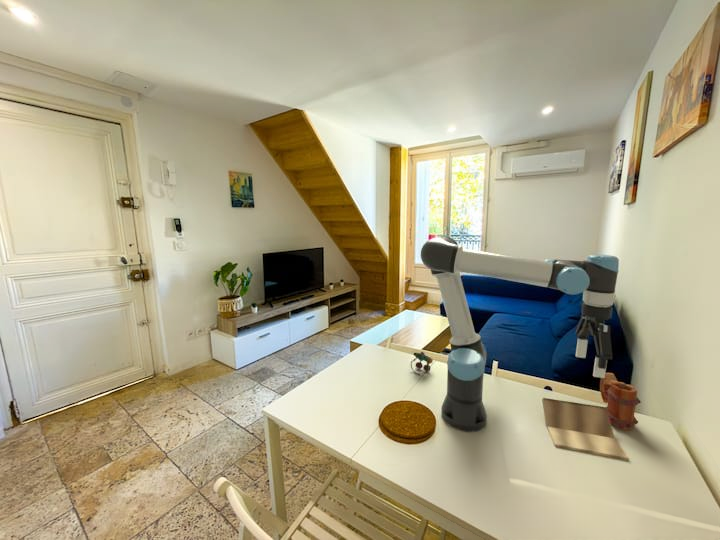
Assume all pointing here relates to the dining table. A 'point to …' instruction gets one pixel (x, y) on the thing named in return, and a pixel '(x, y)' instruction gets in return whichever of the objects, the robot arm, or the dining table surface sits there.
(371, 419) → the dining table surface
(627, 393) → the mug
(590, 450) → the laid board
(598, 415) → the plank
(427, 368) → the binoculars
